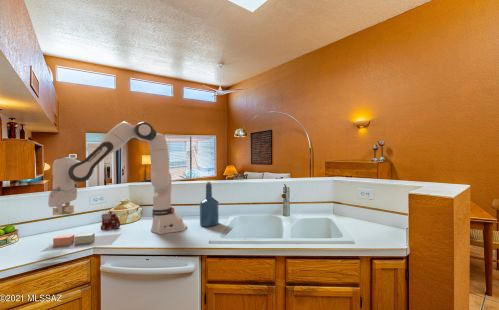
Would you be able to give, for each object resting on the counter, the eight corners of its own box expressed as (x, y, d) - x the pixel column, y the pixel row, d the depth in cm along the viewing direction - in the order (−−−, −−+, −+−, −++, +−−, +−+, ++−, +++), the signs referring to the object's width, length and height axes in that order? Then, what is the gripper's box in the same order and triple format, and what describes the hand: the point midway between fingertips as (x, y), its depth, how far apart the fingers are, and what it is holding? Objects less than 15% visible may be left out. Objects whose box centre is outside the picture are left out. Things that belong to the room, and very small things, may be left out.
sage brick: (94, 239, 127) (94, 232, 127) (91, 242, 123) (91, 235, 123) (78, 241, 125) (78, 234, 125) (74, 243, 121) (74, 236, 121)
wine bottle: (203, 228, 147) (202, 183, 147) (197, 223, 159) (196, 181, 159) (222, 225, 154) (221, 182, 154) (215, 220, 166) (214, 180, 166)
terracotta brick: (74, 241, 125) (74, 234, 125) (70, 244, 121) (70, 237, 121) (57, 243, 123) (57, 235, 123) (53, 246, 119) (53, 238, 119)
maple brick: (73, 212, 125) (73, 205, 125) (70, 214, 121) (69, 206, 121) (57, 213, 123) (57, 206, 123) (52, 215, 119) (52, 207, 119)
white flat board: (121, 235, 136) (121, 233, 136) (111, 246, 120) (111, 244, 120) (60, 241, 129) (60, 239, 129) (40, 253, 112) (40, 251, 112)
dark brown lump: (115, 231, 145) (115, 215, 145) (98, 231, 146) (97, 215, 146) (122, 227, 151) (122, 212, 151) (106, 227, 153) (105, 212, 153)
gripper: (58, 188, 112) (59, 216, 112) (79, 183, 132) (79, 207, 132) (44, 189, 111) (44, 217, 111) (66, 184, 131) (67, 207, 131)
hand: (63, 211), depth 122 cm, fingers closed on maple brick, 4 cm apart
